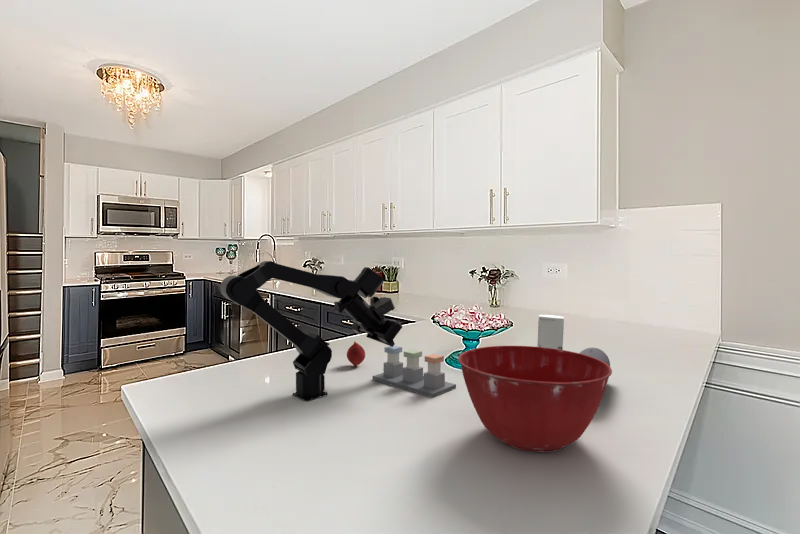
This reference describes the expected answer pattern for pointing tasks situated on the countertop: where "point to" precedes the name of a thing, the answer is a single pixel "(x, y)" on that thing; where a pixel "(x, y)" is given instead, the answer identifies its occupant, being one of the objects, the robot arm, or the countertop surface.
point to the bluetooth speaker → (596, 354)
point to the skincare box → (550, 331)
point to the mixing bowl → (534, 393)
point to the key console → (414, 380)
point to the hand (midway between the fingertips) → (393, 345)
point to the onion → (356, 354)
